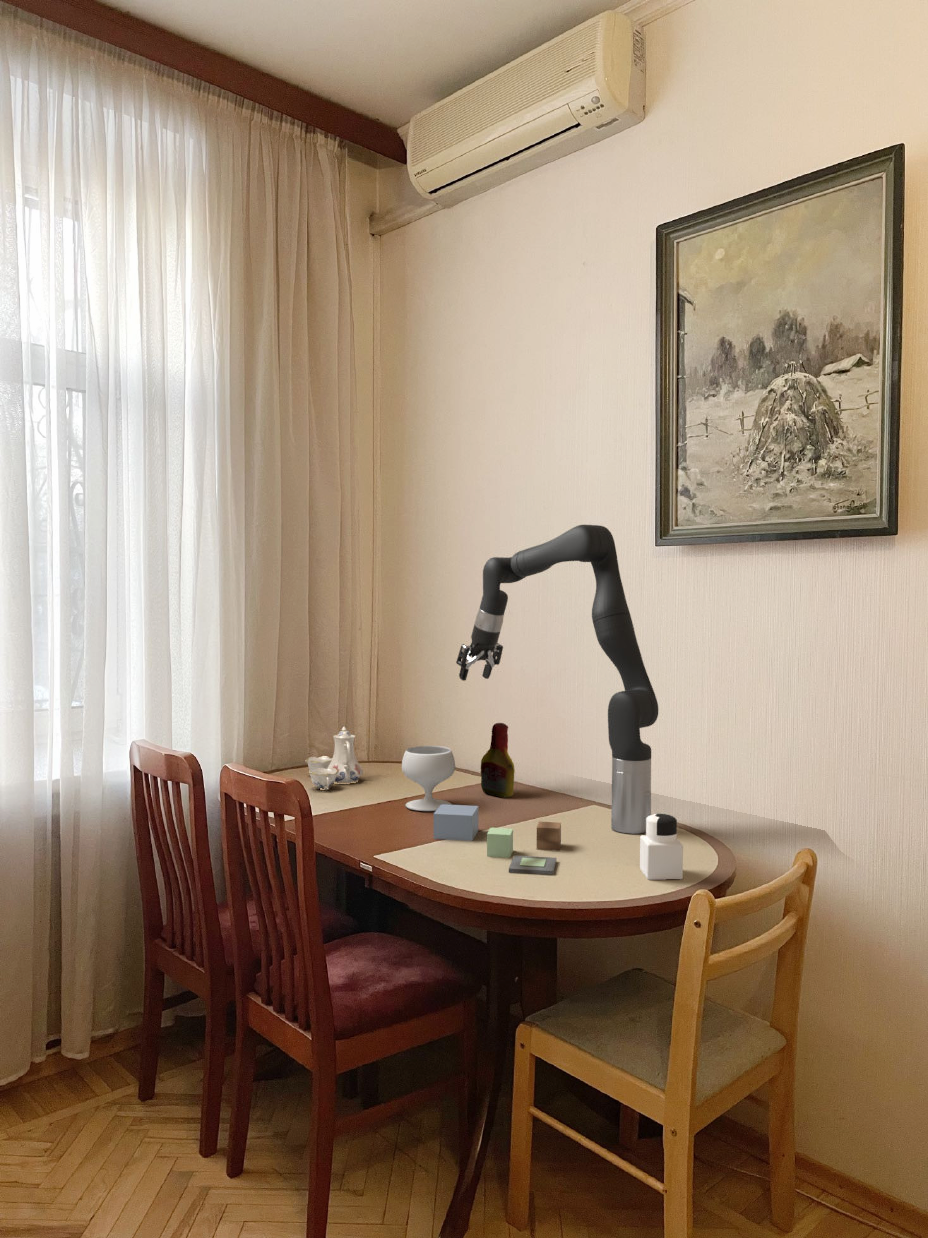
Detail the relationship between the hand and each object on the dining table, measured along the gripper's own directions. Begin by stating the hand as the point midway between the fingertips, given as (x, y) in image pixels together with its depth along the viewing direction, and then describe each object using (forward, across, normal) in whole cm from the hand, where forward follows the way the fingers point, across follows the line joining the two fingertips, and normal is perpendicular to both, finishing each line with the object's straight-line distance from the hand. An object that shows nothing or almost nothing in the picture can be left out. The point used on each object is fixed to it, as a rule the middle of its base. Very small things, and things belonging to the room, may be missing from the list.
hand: (474, 678), depth 263 cm
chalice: (+26, -23, -19) cm, 40 cm away
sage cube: (+12, -36, -59) cm, 70 cm away
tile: (+8, -37, -69) cm, 79 cm away
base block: (+18, -34, -42) cm, 57 cm away
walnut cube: (+10, -24, -62) cm, 67 cm away
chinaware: (+41, -26, +19) cm, 52 cm away
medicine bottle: (+1, -20, -88) cm, 90 cm away
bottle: (+26, 0, -21) cm, 33 cm away
